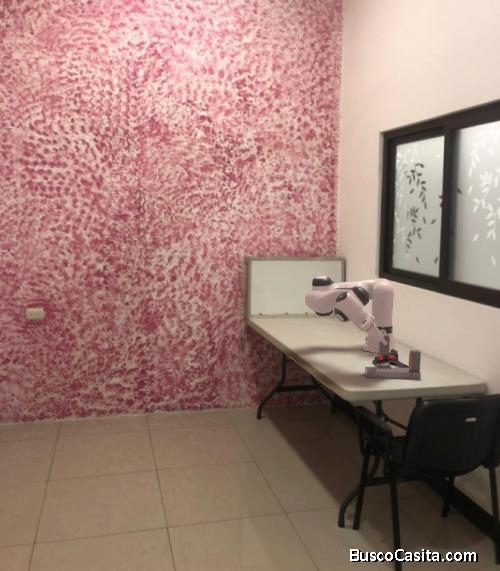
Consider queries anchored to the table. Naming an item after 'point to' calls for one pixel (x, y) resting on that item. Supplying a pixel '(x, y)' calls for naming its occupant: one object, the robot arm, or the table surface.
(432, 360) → the table surface
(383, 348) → the block
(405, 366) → the valve
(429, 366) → the table surface
